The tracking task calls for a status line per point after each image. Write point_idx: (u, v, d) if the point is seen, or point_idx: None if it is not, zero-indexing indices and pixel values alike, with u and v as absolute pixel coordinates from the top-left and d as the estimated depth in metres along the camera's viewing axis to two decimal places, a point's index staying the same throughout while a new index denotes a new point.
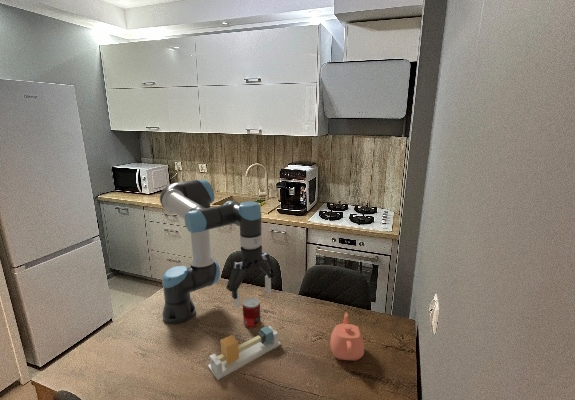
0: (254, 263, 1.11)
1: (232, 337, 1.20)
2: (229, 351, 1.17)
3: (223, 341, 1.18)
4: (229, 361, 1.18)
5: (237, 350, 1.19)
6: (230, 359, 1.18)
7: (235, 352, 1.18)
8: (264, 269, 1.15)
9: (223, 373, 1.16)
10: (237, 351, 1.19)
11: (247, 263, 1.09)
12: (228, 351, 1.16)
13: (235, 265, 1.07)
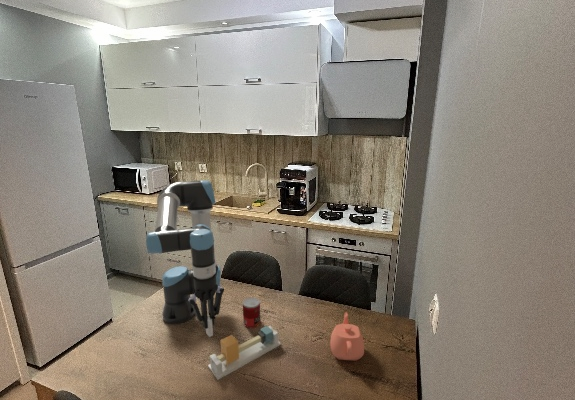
0: (208, 291, 1.07)
1: (232, 337, 1.20)
2: (229, 351, 1.17)
3: (223, 341, 1.18)
4: (229, 361, 1.18)
5: (237, 350, 1.19)
6: (230, 359, 1.18)
7: (235, 352, 1.18)
8: (211, 304, 1.09)
9: (223, 373, 1.16)
10: (237, 351, 1.19)
11: (199, 292, 1.05)
12: (228, 351, 1.16)
13: (189, 301, 1.04)
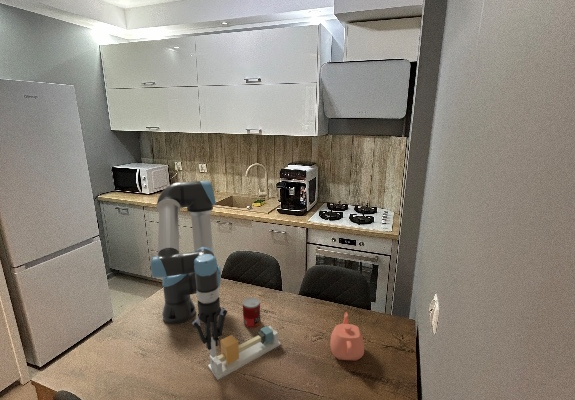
0: (212, 314, 1.10)
1: (232, 337, 1.20)
2: (229, 351, 1.17)
3: (223, 341, 1.18)
4: (229, 361, 1.18)
5: (237, 350, 1.19)
6: (230, 359, 1.18)
7: (235, 352, 1.18)
8: (215, 326, 1.12)
9: (223, 373, 1.16)
10: (237, 351, 1.19)
11: (203, 316, 1.08)
12: (228, 351, 1.16)
13: (193, 324, 1.07)
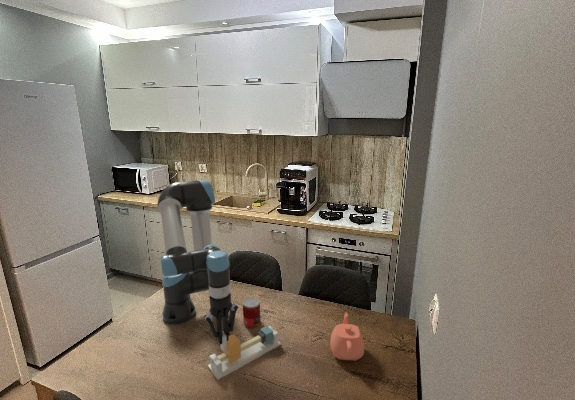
0: (223, 309, 1.13)
1: (234, 336, 1.21)
2: (231, 350, 1.17)
3: None
4: (231, 360, 1.18)
5: (239, 349, 1.19)
6: (232, 358, 1.18)
7: (237, 351, 1.19)
8: (226, 321, 1.14)
9: (223, 373, 1.16)
10: (239, 350, 1.19)
11: (215, 311, 1.11)
12: (230, 350, 1.17)
13: (205, 319, 1.10)
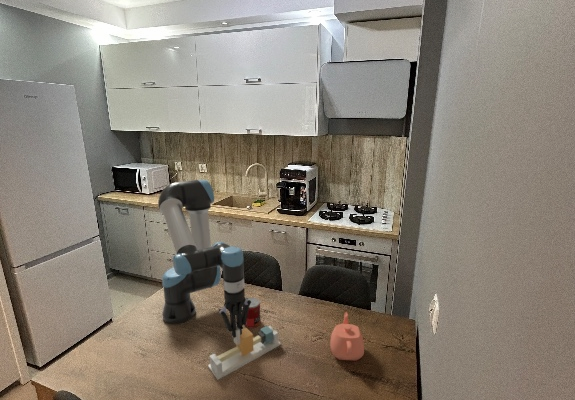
0: (237, 303, 1.16)
1: (247, 330, 1.24)
2: (244, 344, 1.20)
3: None
4: (244, 353, 1.21)
5: (252, 342, 1.23)
6: (245, 351, 1.22)
7: (250, 344, 1.22)
8: (240, 315, 1.18)
9: (223, 373, 1.16)
10: (252, 343, 1.23)
11: (229, 305, 1.14)
12: (243, 343, 1.20)
13: (220, 313, 1.13)
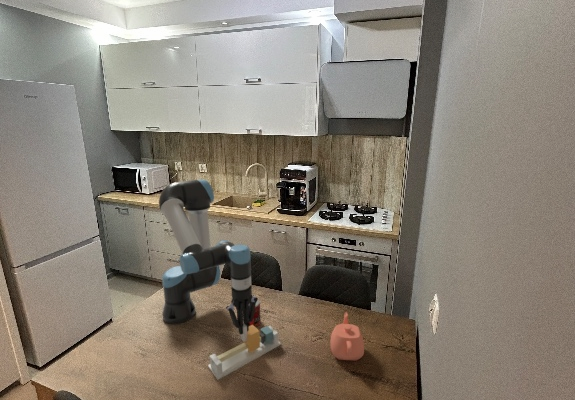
0: (244, 300, 1.18)
1: (253, 327, 1.26)
2: (251, 340, 1.22)
3: None
4: (251, 349, 1.23)
5: (258, 339, 1.25)
6: (252, 348, 1.24)
7: (256, 341, 1.24)
8: (247, 312, 1.20)
9: (223, 373, 1.16)
10: (258, 340, 1.25)
11: (237, 302, 1.16)
12: (250, 340, 1.22)
13: None
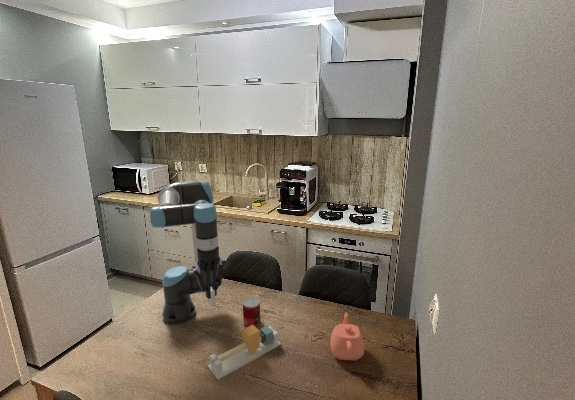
0: (211, 262, 1.12)
1: (253, 327, 1.26)
2: (251, 340, 1.22)
3: (245, 330, 1.24)
4: (251, 349, 1.23)
5: (258, 339, 1.25)
6: (252, 347, 1.24)
7: (256, 341, 1.24)
8: (214, 275, 1.14)
9: (223, 373, 1.16)
10: (258, 340, 1.25)
11: (203, 264, 1.10)
12: (250, 340, 1.22)
13: (193, 272, 1.09)
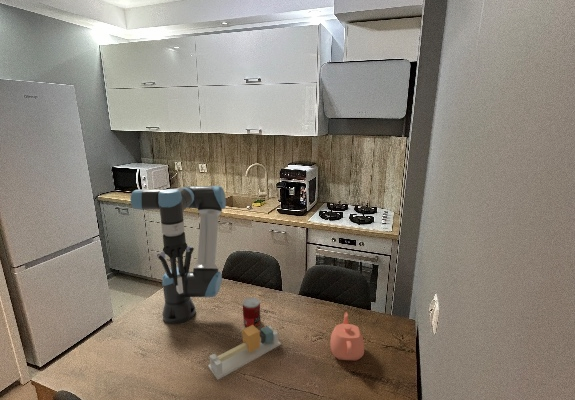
0: (177, 249, 1.12)
1: (253, 327, 1.26)
2: (251, 340, 1.22)
3: (245, 330, 1.24)
4: (251, 349, 1.23)
5: (258, 339, 1.25)
6: (252, 347, 1.24)
7: (256, 341, 1.24)
8: (181, 262, 1.14)
9: (223, 373, 1.16)
10: (258, 340, 1.25)
11: (168, 249, 1.10)
12: (250, 340, 1.22)
13: None
